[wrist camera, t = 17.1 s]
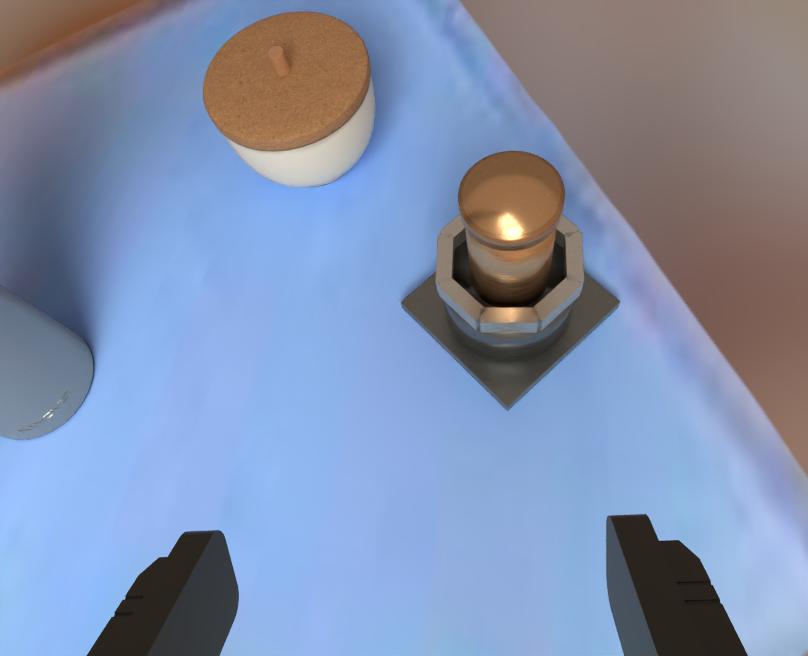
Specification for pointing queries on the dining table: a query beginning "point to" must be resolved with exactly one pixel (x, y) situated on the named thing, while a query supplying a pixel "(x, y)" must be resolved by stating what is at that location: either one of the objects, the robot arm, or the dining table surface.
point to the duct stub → (509, 315)
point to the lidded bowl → (293, 97)
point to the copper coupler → (511, 226)
